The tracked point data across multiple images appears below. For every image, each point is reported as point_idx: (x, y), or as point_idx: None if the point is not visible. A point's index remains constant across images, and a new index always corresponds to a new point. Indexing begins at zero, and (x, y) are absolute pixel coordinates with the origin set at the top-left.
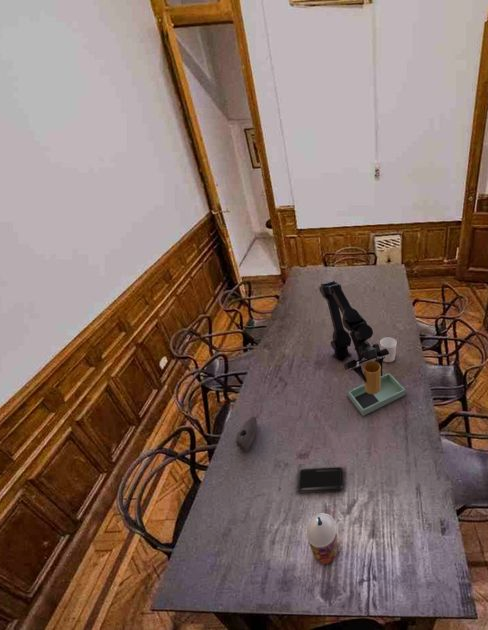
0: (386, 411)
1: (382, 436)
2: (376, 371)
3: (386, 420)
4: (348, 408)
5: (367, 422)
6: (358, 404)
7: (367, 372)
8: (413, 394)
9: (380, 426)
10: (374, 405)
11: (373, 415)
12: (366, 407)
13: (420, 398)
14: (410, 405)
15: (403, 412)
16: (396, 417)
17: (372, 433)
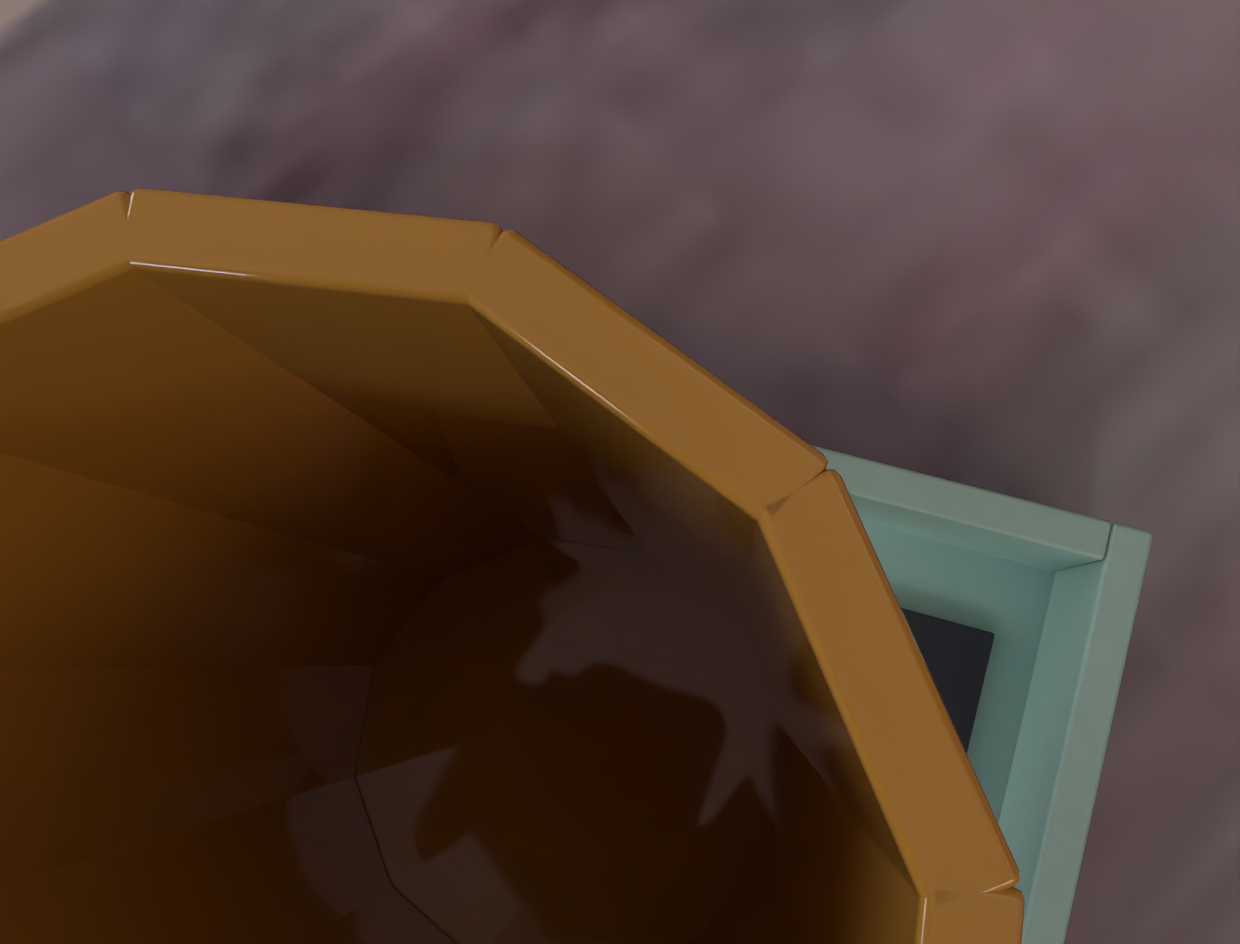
0: (676, 310)
1: (1145, 10)
2: (368, 280)
3: (835, 179)
4: (1168, 941)
5: (1126, 396)
6: (1097, 747)
7: (997, 831)
8: (44, 215)
9: (1013, 168)
10: (838, 453)
11: (919, 424)
12: None
13: (53, 76)
14: (287, 99)
15: (491, 86)
16: (660, 101)
17: (1235, 167)
